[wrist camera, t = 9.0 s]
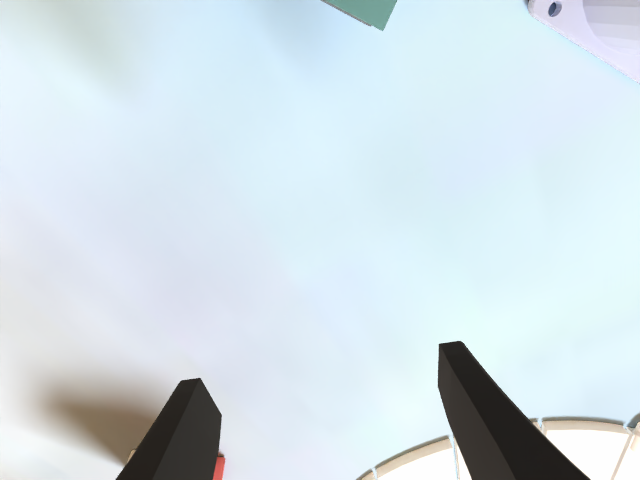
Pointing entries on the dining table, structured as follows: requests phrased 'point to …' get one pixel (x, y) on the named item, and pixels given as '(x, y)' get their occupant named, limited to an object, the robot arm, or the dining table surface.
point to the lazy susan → (568, 436)
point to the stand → (366, 10)
